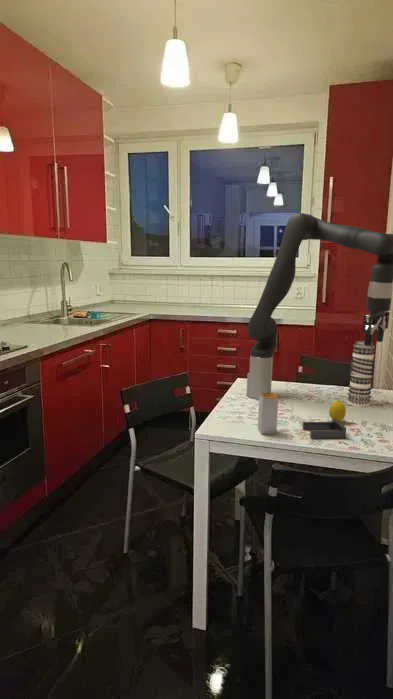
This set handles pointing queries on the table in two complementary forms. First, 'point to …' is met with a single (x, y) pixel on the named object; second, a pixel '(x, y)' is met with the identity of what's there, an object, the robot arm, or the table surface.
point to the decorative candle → (361, 374)
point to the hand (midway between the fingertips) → (373, 343)
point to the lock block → (267, 414)
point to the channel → (325, 430)
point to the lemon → (337, 410)
